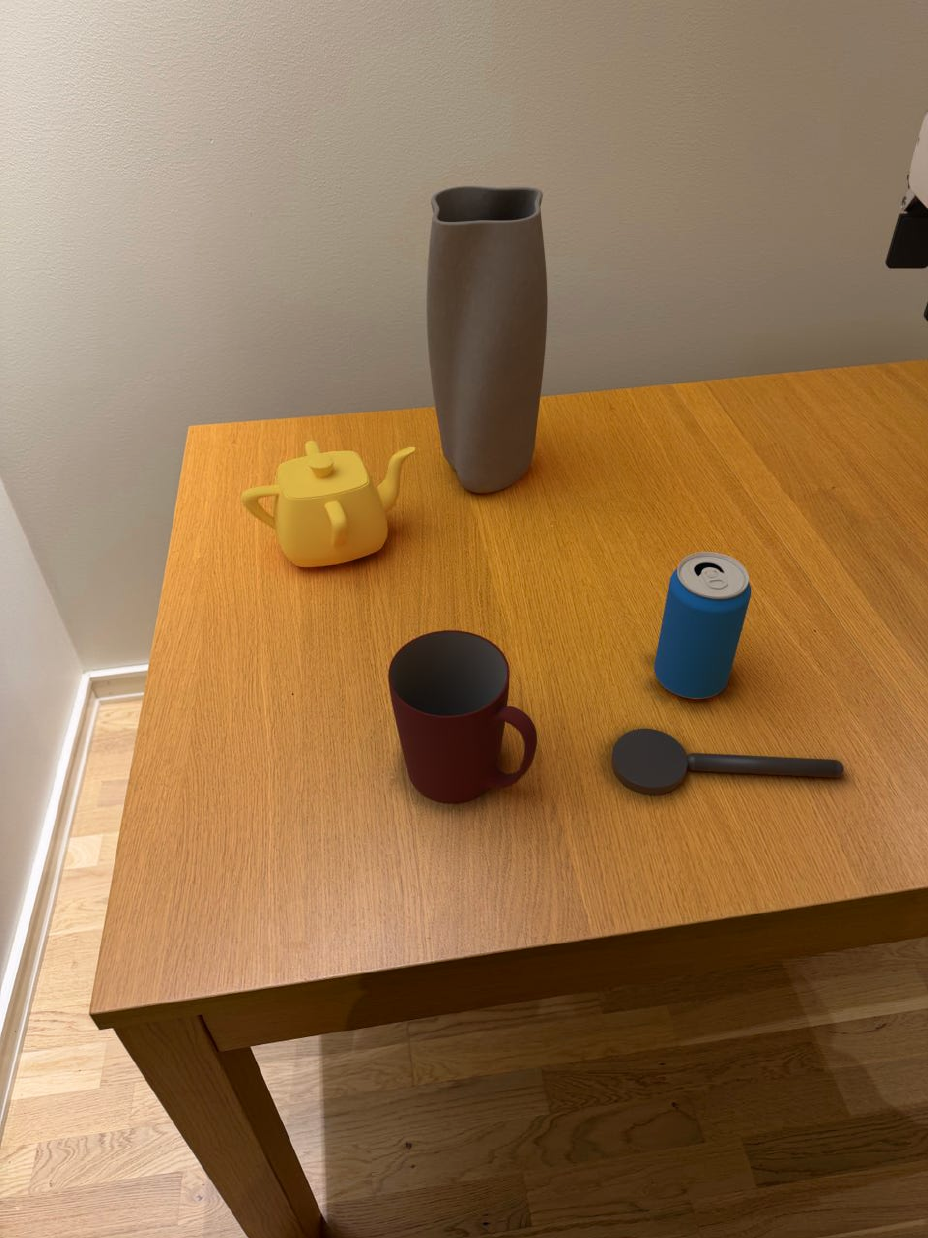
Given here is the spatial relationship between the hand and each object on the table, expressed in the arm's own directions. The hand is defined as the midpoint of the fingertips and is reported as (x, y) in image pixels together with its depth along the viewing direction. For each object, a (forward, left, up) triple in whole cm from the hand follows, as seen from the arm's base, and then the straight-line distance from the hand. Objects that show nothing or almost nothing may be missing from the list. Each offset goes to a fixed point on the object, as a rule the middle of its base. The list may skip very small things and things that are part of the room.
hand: (925, 292), depth 66 cm
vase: (+34, -20, -30) cm, 50 cm away
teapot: (+49, -6, -30) cm, 58 cm away
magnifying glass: (+13, +22, -30) cm, 39 cm away
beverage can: (+14, +12, -30) cm, 35 cm away
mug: (+33, +24, -30) cm, 51 cm away
